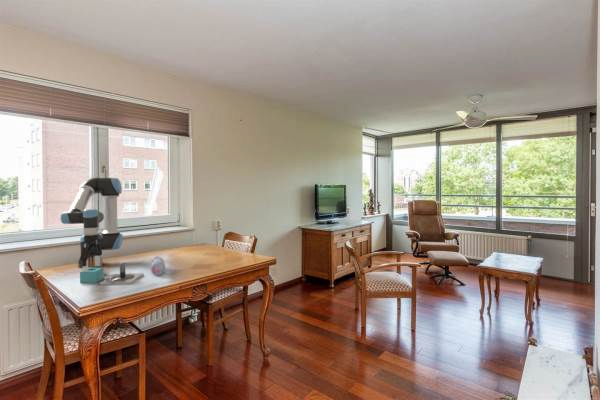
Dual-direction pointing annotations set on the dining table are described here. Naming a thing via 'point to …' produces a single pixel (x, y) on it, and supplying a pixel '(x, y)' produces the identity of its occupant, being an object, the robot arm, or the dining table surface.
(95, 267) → the ammunition clip
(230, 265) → the dining table surface
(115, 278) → the post stand
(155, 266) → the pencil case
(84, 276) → the collar
